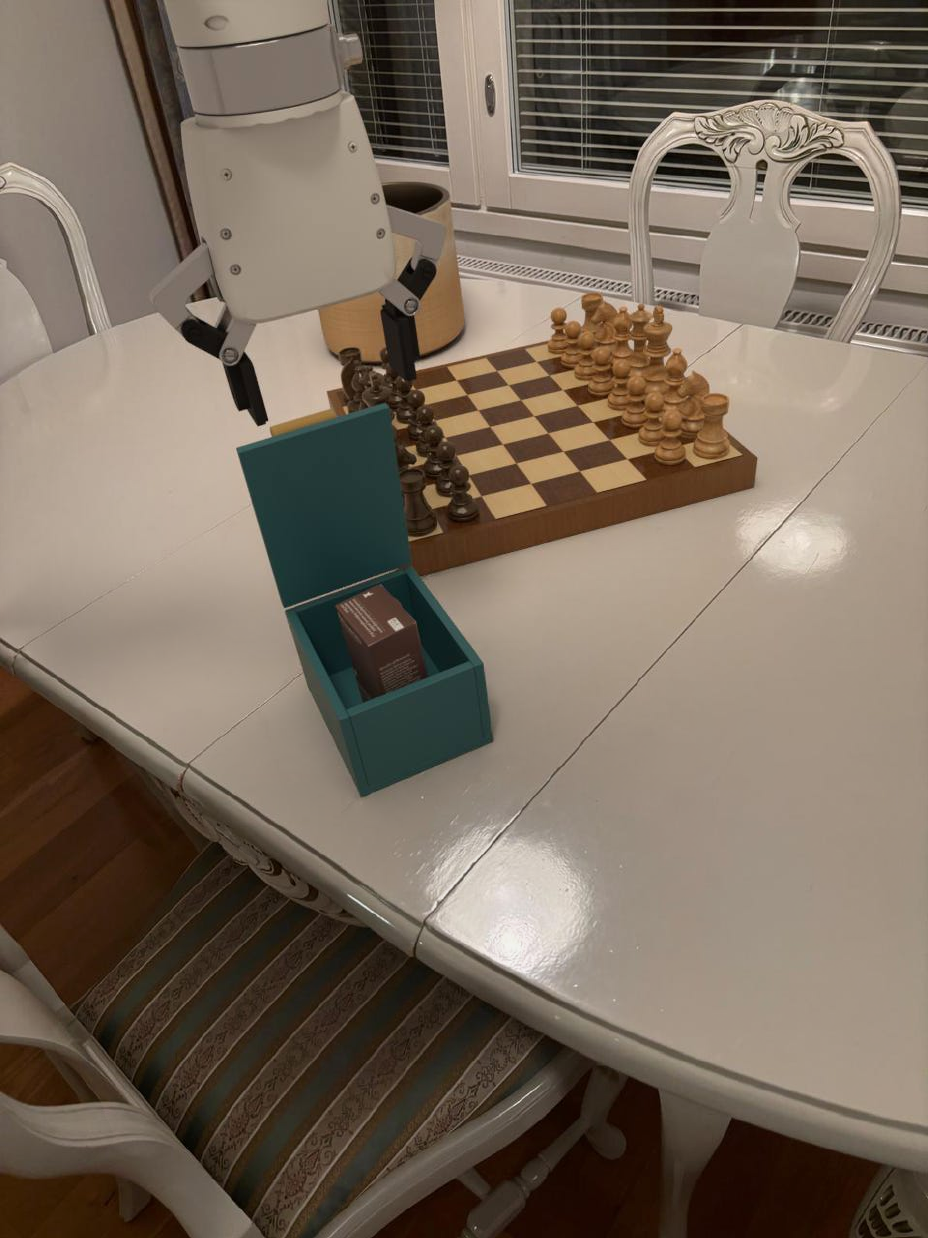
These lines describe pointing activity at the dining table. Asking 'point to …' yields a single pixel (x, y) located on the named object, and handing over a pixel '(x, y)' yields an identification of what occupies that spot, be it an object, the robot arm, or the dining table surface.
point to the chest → (405, 718)
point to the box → (381, 643)
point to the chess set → (549, 436)
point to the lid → (328, 501)
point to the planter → (438, 305)
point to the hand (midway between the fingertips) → (332, 394)
